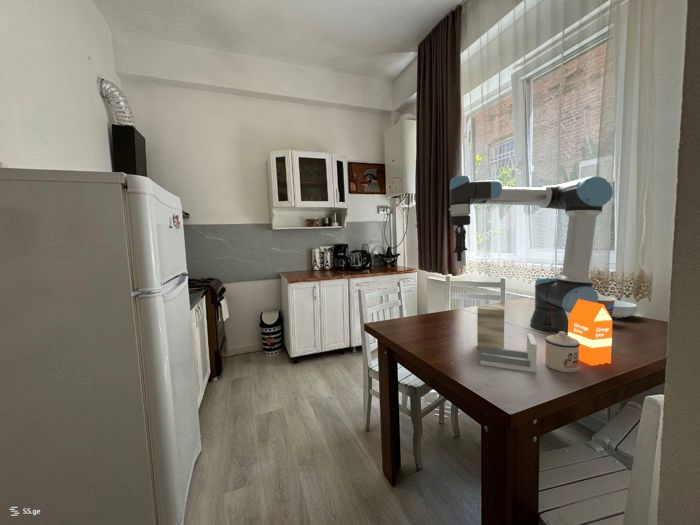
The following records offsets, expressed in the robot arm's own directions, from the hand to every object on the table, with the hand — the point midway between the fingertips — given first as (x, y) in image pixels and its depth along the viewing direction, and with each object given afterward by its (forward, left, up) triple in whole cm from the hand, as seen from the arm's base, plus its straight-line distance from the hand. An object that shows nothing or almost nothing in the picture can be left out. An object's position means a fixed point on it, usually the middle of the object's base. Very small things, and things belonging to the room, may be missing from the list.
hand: (460, 267), depth 120 cm
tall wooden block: (-6, +11, -30) cm, 33 cm away
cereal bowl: (-88, -19, -31) cm, 95 cm away
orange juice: (-33, +25, -31) cm, 52 cm away
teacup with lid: (-21, +29, -31) cm, 47 cm away
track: (-5, +23, -30) cm, 39 cm away
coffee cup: (-73, -11, -31) cm, 80 cm away
